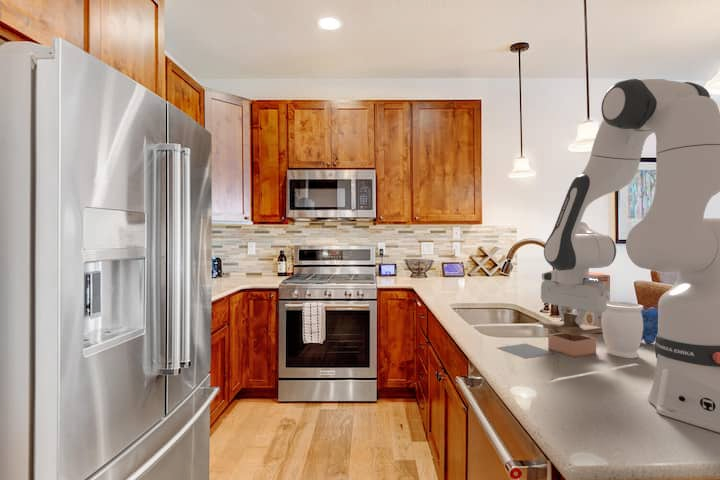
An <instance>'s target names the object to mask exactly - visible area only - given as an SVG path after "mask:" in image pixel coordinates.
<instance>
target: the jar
mask: <svg viewBox="0 0 720 480" xmlns="http://www.w3.org/2000/svg"><path fill="white" fill-rule="evenodd" d="M606 304H607V309H606V310H605V312H603V313H602V320H601V324H602V331H603V333H602V337H603V340H604V343H605V344H604V345H605V346H606V349H605V353H607V354H609V355H612V356H615V357H616V356H617V357H622V358H625V359H637V358H639V357H640V355H639V353H638V350H639V348H640V346H641V343H642V341H641V338H642V334H643V318H642V314H641V310H643V309H644V305H642V304H640V303H639V304H638V303H633V302H628V301H626V302H625V301H610V302H606Z"/></svg>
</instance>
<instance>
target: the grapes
mask: <svg viewBox="0 0 720 480" xmlns="http://www.w3.org/2000/svg"><path fill="white" fill-rule="evenodd" d="M641 314H642V318H643V334H642V338H641V342H642V341H644V342H645V344H649V345H651V344H653V343H655V339H656V335H657V334H658V307H654V306H652V307H649V308H648V309H647V310H646V309H645V308H643V310H641Z"/></svg>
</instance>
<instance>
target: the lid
mask: <svg viewBox="0 0 720 480" xmlns="http://www.w3.org/2000/svg"><path fill="white" fill-rule="evenodd" d="M577 316H578V314H575V312H566V313H564V321H562V320H561V321H553V322H545V323H543V324H542V328H544V329H548V330H552V331H555V332H559V333H566V334H569V335H573V336H577V335H584V336H585V335H589V334H590V335H591V334H598V333H597V332H602V328H600V327H596V326H592V325H588V324H583V323H582V324H581V325H578V324H574V318H577Z"/></svg>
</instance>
